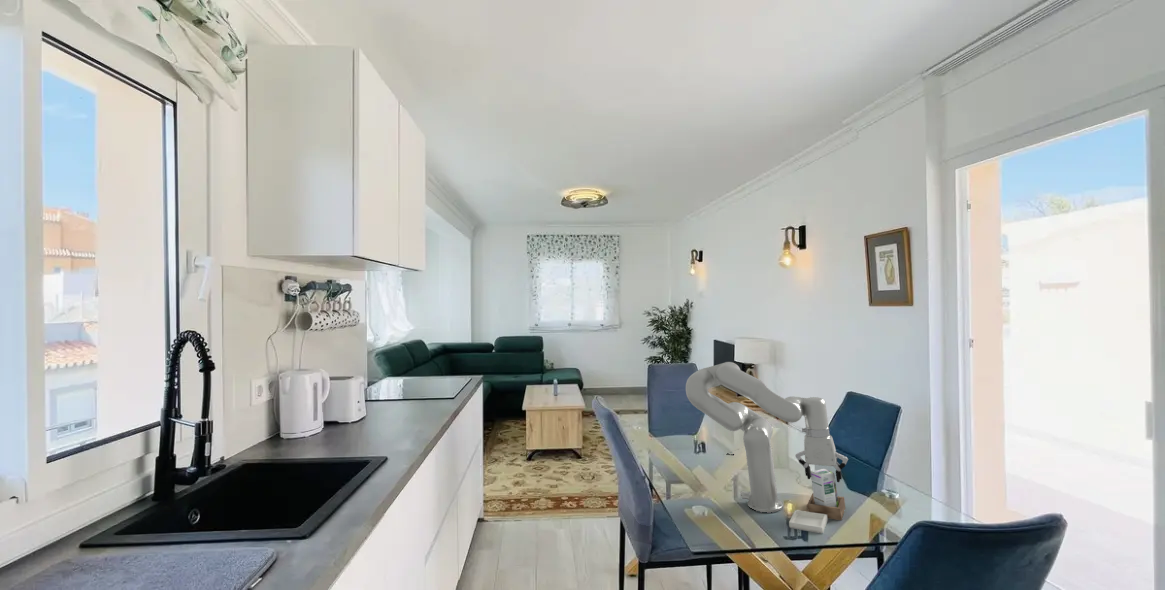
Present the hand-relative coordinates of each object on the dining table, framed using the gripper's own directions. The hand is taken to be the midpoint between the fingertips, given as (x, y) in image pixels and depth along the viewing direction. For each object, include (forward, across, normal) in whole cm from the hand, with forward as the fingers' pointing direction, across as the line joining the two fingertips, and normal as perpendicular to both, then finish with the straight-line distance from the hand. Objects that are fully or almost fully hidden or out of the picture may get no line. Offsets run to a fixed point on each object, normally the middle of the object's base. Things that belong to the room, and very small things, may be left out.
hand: (823, 479), depth 173 cm
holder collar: (+12, 0, 0) cm, 12 cm away
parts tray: (+12, -4, -12) cm, 17 cm away
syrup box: (+12, 0, 0) cm, 12 cm away
